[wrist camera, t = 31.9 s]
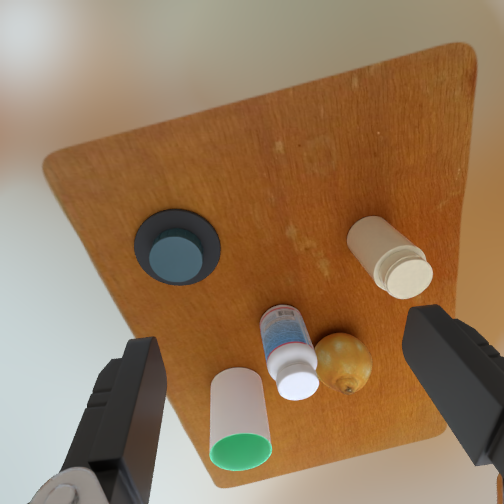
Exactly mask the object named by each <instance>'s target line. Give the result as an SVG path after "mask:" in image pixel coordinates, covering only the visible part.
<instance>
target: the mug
mask: <svg viewBox="0 0 504 504" xmlns="http://www.w3.org/2000/svg"><path fill="white" fill-rule="evenodd" d="M271 452H272V445H271V438H270V432H269V425H268V419H267V412H266V405H265V399H264V392H263V385H262V380H261V378H260V376H259V375H258V374H257V373H256V372H254V371H253V370H250V369H247V368H241V367H237V368H230V369H227V370H224V371H222V372H220V373H219V374H218V375H216V376H215V378H214V379H213V380H212V383H211V405H210V459H211V461H212V462H213V463H214V464H215V465H216V466H218V467H220V468H223V469H226V470H233V471H240V470H247V469H251V468H254V467H257V466H259V465H261V464H262V463H264V462H265V461H266V460H267V459H268V458H269V457H270V455H271Z"/></svg>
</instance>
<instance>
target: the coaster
mask: <svg viewBox="0 0 504 504" xmlns="http://www.w3.org/2000/svg"><path fill="white" fill-rule="evenodd" d="M174 228H179V229H185V230H188V231H190V232H191V233H193V234H195V235H196V236H197V237H198V239H199V240H200V241H201V244H202V247H203V248H204V250H203V263H202V267H201V269H200V271H199V272H198V273H197V275H195V276H194V277H193V278H191V279H189V280H187V281H183V282H171V281H167V280H165V279H163V278H161V277H159V276H158V275H157V274H156V273H155V272H154V271H153V269H152V267H151V265H150V261H149V255H150V250H151V247H152V244H153V242H154V239H156V238H157V236H158V235H159V234H160V233H162V232H164V231H166V230H168V229H174ZM134 250H135V255H136V258H137V260H138V262H139V264H140V266H141V267H142V268H143V270H144V271H145V272H146V273H147V274H149V275H150V276H151V277H153V278H154V279H156V280H158V281H160V282H163V283H166V284H169V285H178V286H182V285H190V284H193V283H196V282H199V281H201V280H203V279H204V278H206V277H207V276H208V275H209V274H210V273H211V272H212V271H213V270H214V269H215V267H216V265H217V263H218V261H219V257H220V241H219V237H218V235H217V233H216V231H215V229H214V228H213V226H212V225H211V224H210V223H209V222H208V221H207V220H206V219H204V218H203V217H201V216H200V215H198V214H196V213H194V212H191V211H187V210H182V209H169V210H164V211H160V212H158V213H156V214H154V215H152V216H150V217H149V218H148V219H147V220H145V221H144V223H143V224H142V225H141V226H140V228H139V230H138V232H137V234H136V237H135V242H134Z"/></svg>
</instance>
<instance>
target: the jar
mask: <svg viewBox="0 0 504 504" xmlns="http://www.w3.org/2000/svg"><path fill="white" fill-rule="evenodd" d="M347 245H348V248H349V249H350V251H351V252H352V253H353V255H354V256H355V257H356V259H357V260H358V261H359V262H360V264H361V265H362V266H363V268H364V269H365V270H366V271H367V273H368V274H369V275H370V277H371V278H372V279H373V280H374V282H375V283H376V284H377V285H378V286H379V287H380V288H381V289H383V290H386V291H387V292H388V293H389V294H390V295H391V296H393V297H396V298H398V299H408V298H411V297H414V296H416V295H418V294H420V293H421V292H423V291H424V290H425V289H426V288H427V287H428V285H429V284H430V282H431V280H432V276H433V271H432V268H431V266H430V264H429V263H428V262H426V257H425V255H424V253H423V252H422V250H420V249H419V248H418V247H417V246H416V245H415V244H413V243H412V242H411V241H410V240H409V239H407V238H406V237H405V236H404V235H403V234H401V233H400V232H399V231H398V230H397V229H395V228H394V227H393V226H392V225H391V224H389V223H388V222H387V221H386V220H385V219H383V218H381V217H378V216H368V217H365V218H362V219H361V220H359V221H357V222H356V223H355V224H354V225H353V226H352V227H351V229H350V231H349V233H348V236H347Z"/></svg>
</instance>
